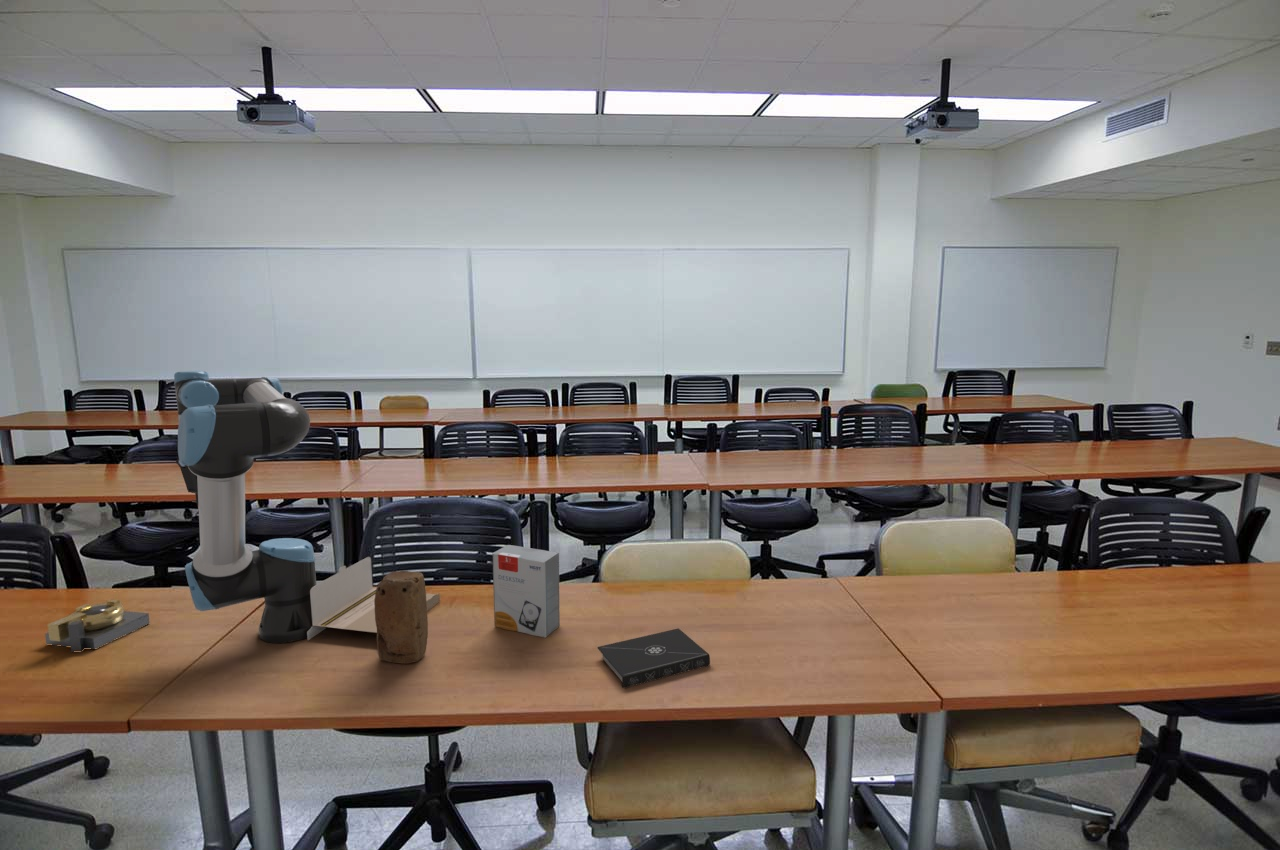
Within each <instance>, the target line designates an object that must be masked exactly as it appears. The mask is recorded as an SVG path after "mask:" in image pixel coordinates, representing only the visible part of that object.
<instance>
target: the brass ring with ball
mask: <svg viewBox="0 0 1280 850" xmlns="http://www.w3.org/2000/svg"><path fill="white" fill-rule="evenodd" d="M124 611H125V610H124V606H123V603H121V601H120V599H109V600H106V602H101V603H96V604H90V603H89V604H88V603H85V604H82V605H80V606H78V607H75V611H73V612H72V613H71V614H69V615H67V616H64V617H61V618H59V619H57V620H55V621H52V622H49V623H47V631H48V632H49V638H50V640H52V641H62V640H64V639H67V638H69V631H68V625H69V624H70V623H72V622H73V621H83V624H84V631H90V630H96V629H100V628H104V627H107V626H110V625H113V624H115V623H117V622H119V621H121V620H122V619H123V618H124Z"/></svg>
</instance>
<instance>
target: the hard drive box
mask: <svg viewBox="0 0 1280 850" xmlns="http://www.w3.org/2000/svg"><path fill="white" fill-rule="evenodd" d="M492 578H493V579H492V584H493V585H492V586H493V588H492V589H493V614H494V615H493V617H494V621H493V623H494V625H493V626H494V628H495V627H496V628H499V629H504V630H506V631H514V632H517V633H518V632H519V633H522V634H526V635H530V636H534V637H541V638H547V637H548V636H549V635H550V634H552V633H553V632H554V631H556V630H557V628H559V627H560V626H561V625H560V624H561V623H560V617H561V616H560V615H561V614H560V612H561V611H560V553H559V552H555V551H550V550H545V549H538V548H531V547H525V546H519V545H513V544H512V545H511V544H507V545H505V546H503V547H501V548H499V549H498V550H496V551H494V552H492Z"/></svg>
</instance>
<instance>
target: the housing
mask: <svg viewBox="0 0 1280 850" xmlns="http://www.w3.org/2000/svg"><path fill="white" fill-rule="evenodd" d="M123 611H124V618H123V619H122V620H121V621H119V622H117V623H115V624H113V625H110V626H107V627H104V628H100V629H96V630H90V631H84V624H83V621H73V622H72V623H70V624H69V625H68V631H69V638H67V639H64V640H62V641H52V640H50V638H49V631H48V632H46V633H45V634H44V637H45V642H46V643H45V644H46V645H47V644H52V645H61V646H71V648H70V652H74V651H82V650H83V649H84V648H91V649H95V648H98V647H100V646H102V645H104V644H106V643H109V642H111V641H113V640H114V639H116V638H119V637H121V636H123V635H125V634H128V633H130V632H132V631H134V630H136V631H138V630H137V629H138V628H140V627H142V626H145V625H146V624H149V623H150V616H149V615H150V614H149V612H138V611H129V610H123ZM149 625H150V624H149ZM145 627H146V626H145ZM134 632H135V631H134ZM132 633H133V632H132ZM130 634H131V633H130ZM128 635H129V634H128ZM113 642H114V641H113ZM111 643H112V642H111ZM109 644H110V643H109ZM82 652H83V651H82Z"/></svg>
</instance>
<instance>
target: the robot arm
mask: <svg viewBox="0 0 1280 850" xmlns="http://www.w3.org/2000/svg"><path fill="white" fill-rule="evenodd" d="M173 375H174V376H173V377H174V380H173V382H174V383H173V387H174V391H175V400H176V407H177V417H178V427H177V428H178V429H177V455H178V458H177V459H176V460H175V462H176V464H177V466H178V467H179V469H180V471H181V474H182V478H183V480H184V483H185V487H186V489H187V492H188V493H191V494H194V495H195V502H196V503H195V504H196V506H197V508H198V520H199V521H198V523H199V524H198V525H199V543H200V545H199V547H200V548H199V549H198V550H197V552H195V554H194V556H193V559H192V561H191V562H189V563H186V565H184V571H185V574H186V580H187V583H188V587H189V590H190V595H191V599H192V603H193V605H194V608H195V609H196V610H197V611H199V612H206V611H212V610H220V609H221V608H225V607H230V606H234V605H238V604H242V603H247V602H251V601H255V600H259V599H263V598H264V608H263V612H262V615H261V620H260V624H259V626H258V633H259V638H260V640H262V641H263V642H266V643H269V644H270V643H271V644H283V643H292V642H297V641H301V640H304V639H307V631H308V630H309V629H310V628H311V627H312V626H313V624H312V611H311V599H310V590H311V588H312V587H314V586H315V585H317V576H316V557H315V552H314V547H313V545H312V543H311V542H309V541H308V540H305V539H302V538H293V537H282V538H281V537H279V538H272V539H268V540H264V541H262V542H261V543H260V544H259V547H258V549H257V550H252V549H251V548H250V547H249V546H248V545H247V544H246V474H247V473H248V472H249V471H251V469H252V468H253V466H254V459H255V458H263V457H272V456H277V455H280V454H284V453H286V452H288V451H290V450H292V449H293V448H296V447H297V446H298V445H299V444H300V443H301V442H302V441H303V440H304V438H306V437H307V434H308V433H309V430H310V426H311V419H310V415H309V413H308V411H307V409H306V408H305V407H304V406H303V405H302V404H301V403H300V402H298V401H296V400H295V399H292V398H287V397H285V395H283V387H282V384H281V381H280V379H279V378H276V377H267V376H266V377H265V376H262V377H252V378H223V379H210V377H209V373H208V372H207V371H205V370H189V371H188V370H186V371H185V370H184V371H182V370H181V371H176V372H175V373H174V374H173Z"/></svg>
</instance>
